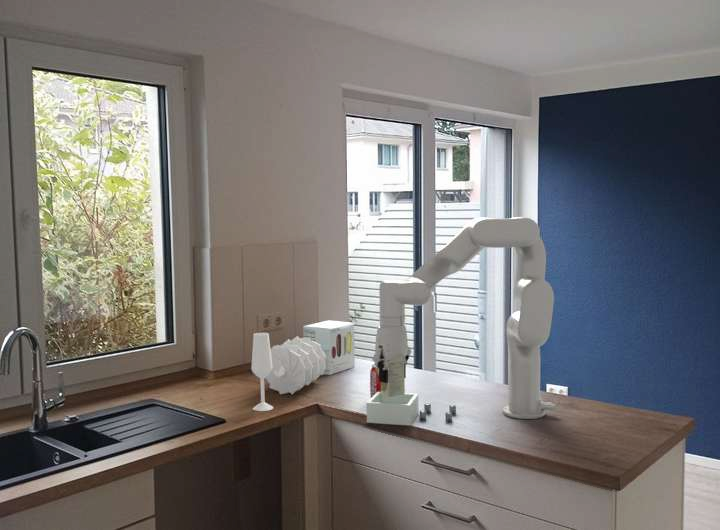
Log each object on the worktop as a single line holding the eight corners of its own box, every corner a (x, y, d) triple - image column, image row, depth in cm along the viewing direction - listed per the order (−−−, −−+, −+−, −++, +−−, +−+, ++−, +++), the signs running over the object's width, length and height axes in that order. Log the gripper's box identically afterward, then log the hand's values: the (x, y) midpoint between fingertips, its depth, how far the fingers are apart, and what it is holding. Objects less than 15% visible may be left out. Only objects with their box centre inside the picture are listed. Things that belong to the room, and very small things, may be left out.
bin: (418, 413, 223) (418, 394, 223) (409, 425, 211) (409, 405, 210) (377, 410, 227) (377, 391, 226) (366, 422, 214) (366, 402, 214)
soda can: (390, 404, 233) (389, 368, 232) (368, 403, 235) (368, 367, 234) (393, 398, 240) (393, 363, 239) (372, 398, 242) (372, 362, 241)
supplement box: (331, 375, 274) (330, 328, 273) (303, 371, 282) (302, 325, 280) (356, 367, 289) (355, 322, 287) (329, 363, 296) (328, 319, 295)
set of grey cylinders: (456, 413, 223) (456, 405, 222) (451, 422, 213) (451, 414, 213) (425, 411, 225) (425, 403, 225) (419, 420, 216) (418, 412, 216)
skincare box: (397, 392, 222) (397, 352, 221) (405, 395, 218) (405, 355, 217) (379, 394, 219) (379, 354, 218) (386, 397, 215) (386, 357, 214)
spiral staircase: (318, 392, 266) (291, 406, 243) (278, 369, 271) (248, 381, 247) (338, 348, 263) (312, 359, 240) (298, 326, 268) (269, 334, 244)
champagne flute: (261, 412, 227) (259, 336, 225) (248, 408, 231) (246, 334, 229) (277, 407, 232) (276, 333, 230) (264, 404, 236) (262, 331, 234)
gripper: (402, 316, 225) (402, 373, 227) (362, 323, 213) (363, 382, 215) (420, 319, 220) (420, 377, 221) (381, 326, 208) (381, 387, 209)
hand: (392, 379), depth 218 cm, fingers closed on skincare box, 7 cm apart
